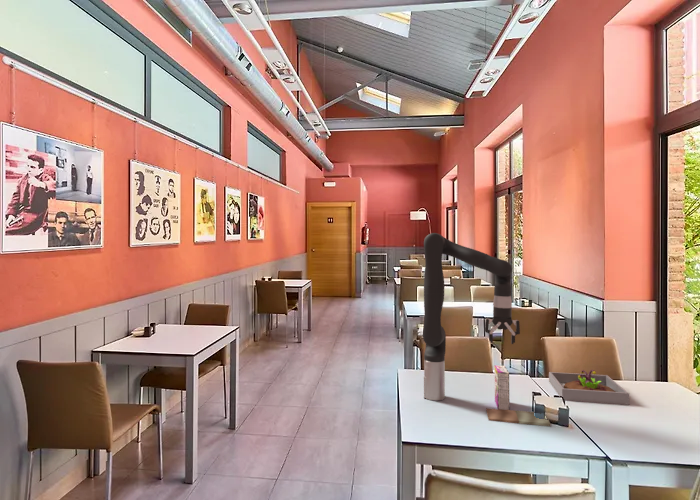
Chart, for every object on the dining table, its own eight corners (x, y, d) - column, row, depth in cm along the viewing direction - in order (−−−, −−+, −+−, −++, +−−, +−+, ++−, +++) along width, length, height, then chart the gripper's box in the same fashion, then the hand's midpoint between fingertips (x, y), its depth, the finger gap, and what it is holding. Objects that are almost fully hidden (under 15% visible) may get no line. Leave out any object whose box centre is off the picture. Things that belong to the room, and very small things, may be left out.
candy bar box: (494, 401, 191) (493, 364, 191) (505, 401, 190) (505, 365, 190) (497, 410, 180) (497, 372, 180) (509, 411, 179) (509, 372, 179)
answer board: (488, 420, 169) (488, 416, 169) (486, 410, 180) (486, 406, 180) (550, 426, 164) (550, 421, 164) (544, 415, 174) (544, 410, 174)
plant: (591, 402, 190) (590, 377, 190) (557, 388, 208) (557, 365, 208) (624, 396, 196) (624, 372, 196) (588, 384, 215) (588, 362, 215)
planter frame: (562, 400, 192) (562, 389, 192) (548, 381, 218) (548, 371, 218) (629, 404, 185) (629, 393, 185) (607, 385, 211) (607, 375, 211)
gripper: (485, 306, 182) (485, 343, 182) (521, 308, 179) (520, 346, 179) (484, 304, 189) (484, 340, 190) (518, 305, 186) (518, 342, 186)
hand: (501, 343), depth 184 cm, fingers open, 8 cm apart
